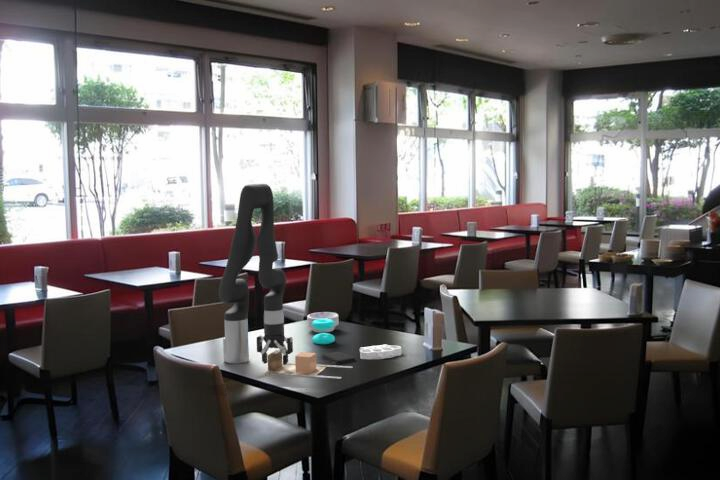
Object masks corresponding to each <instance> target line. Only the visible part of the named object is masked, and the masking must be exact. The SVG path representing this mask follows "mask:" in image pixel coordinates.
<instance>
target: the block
mask: <svg viewBox="0 0 720 480" xmlns="http://www.w3.org/2000/svg"><path fill="white" fill-rule="evenodd" d="M294 359H295V360H294V363H295V366H296V372H303V373H311V372H313V371H314V370H315V369H316V364H317V353H316V352H303V351H301V352H299V353H298V354H297V355H295V358H294Z"/></svg>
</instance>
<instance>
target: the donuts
mask: <svg viewBox="0 0 720 480" xmlns="http://www.w3.org/2000/svg"><path fill="white" fill-rule="evenodd" d="M312 326H313V327H314V328H316V329H320V330H325V329H330V328H332V327H333V326H334V321H333V320H331V319H317V320H314V321H313V322H312ZM335 340H336V338H335V336H334V334H331V333H329V332H328V333H317V334H315V335H313V337H312V342H313V343H314V344H316V345H329V344H332V343H334V342H335Z"/></svg>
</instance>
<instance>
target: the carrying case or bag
mask: <svg viewBox="0 0 720 480" xmlns="http://www.w3.org/2000/svg"><path fill="white" fill-rule="evenodd" d="M320 358H321V359H323V360H324V361H327V362H329V363H332V364H333V365H336V366H343V365H347V364H352V363H356V362H357V358H356V357H354V356H352V355H349V354H347V353H344V352H341V351H333V352H326V353H323V354H322V355H321V356H320Z"/></svg>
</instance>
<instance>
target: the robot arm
mask: <svg viewBox="0 0 720 480" xmlns="http://www.w3.org/2000/svg"><path fill="white" fill-rule="evenodd" d="M256 209H259V210H260V212H261V222H260V227H259V230H258V234H257V235H256V231H255V229H254V226H253V223H252V220H253V219H252V218H253V214H254V210H256ZM274 209H275V208H274V195H273V191H272V188H271V186H269V184H267V183H251V184H246V185H244V186H243V187H242V188H241V191H240V195H239V202H238V210H237V217H236V223H235V227H234V233H233V236H232V239H231V244H230V250H229V253H228V254H229V255H228V257H227V262H226V265H225V268H224V272H223V274H222V278H221V281H220V284H219V288H218V297H219V298H218V299H219V300H220V301H221V302H222V303H224V304H233V305H232V306H231V307H230V308H229V309H227V310H226V311H225V312H224V314H223V315H224V317H223V318H224V338H223V339H222V346H223V347H222V349H223V362H225V363H228V364H241V363H247V362H248V361H249V360H250V356H249V355H250V352H249V351H250V348H249V324H248V321H249V320H248V318H249V317H248V314H249V304H250V303H249V301H250V288H249V285H248V282H247V281H246V279H244V278H238V277H239V274H241V272H242V270H243V269H244V268H245V267H246V266H247V265H248V263H249V262H250V260H251V259H253V257H254V253H255V250H256V248H257V253H258V258H259V260H258V261H259V264H258V272H257V273H258V275H257V276H258V282H259V284H260V286H261V287H262V288H264V289H268V290H269V289H270V290H269V292H268V293H267V294H265V295H264V298H263V332H264V333H263V334H264V336H263V335H258V336H256V352H257V353H260V354H261V362H262V363H263V364H268V350H269V349H278V350H280V351H281V352H282V364H283V365H286V364H287V363H289V355H291V354H292V353H293V351H294V348H293V347H294V346H293V343H294V342H293V337H292V336H289V337H286V336H285V317H284V314H285V313H284V309H283V308H284V304H283V297H284V294H285V289H286V284H287V276H286V273H285V271H284V270H283V269H282V268H280V267H276V268H275V267H274V268H273V265H274V263H275V262H277V261H278V259H279V254H278V248H277V244H276V243H277V242H276V235H275V218H274V217H275V212H274ZM256 246H257V247H256ZM263 342H265V345H264V346H263ZM284 342H285V343H286V344H285V343H284ZM287 365H288V364H287Z"/></svg>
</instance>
